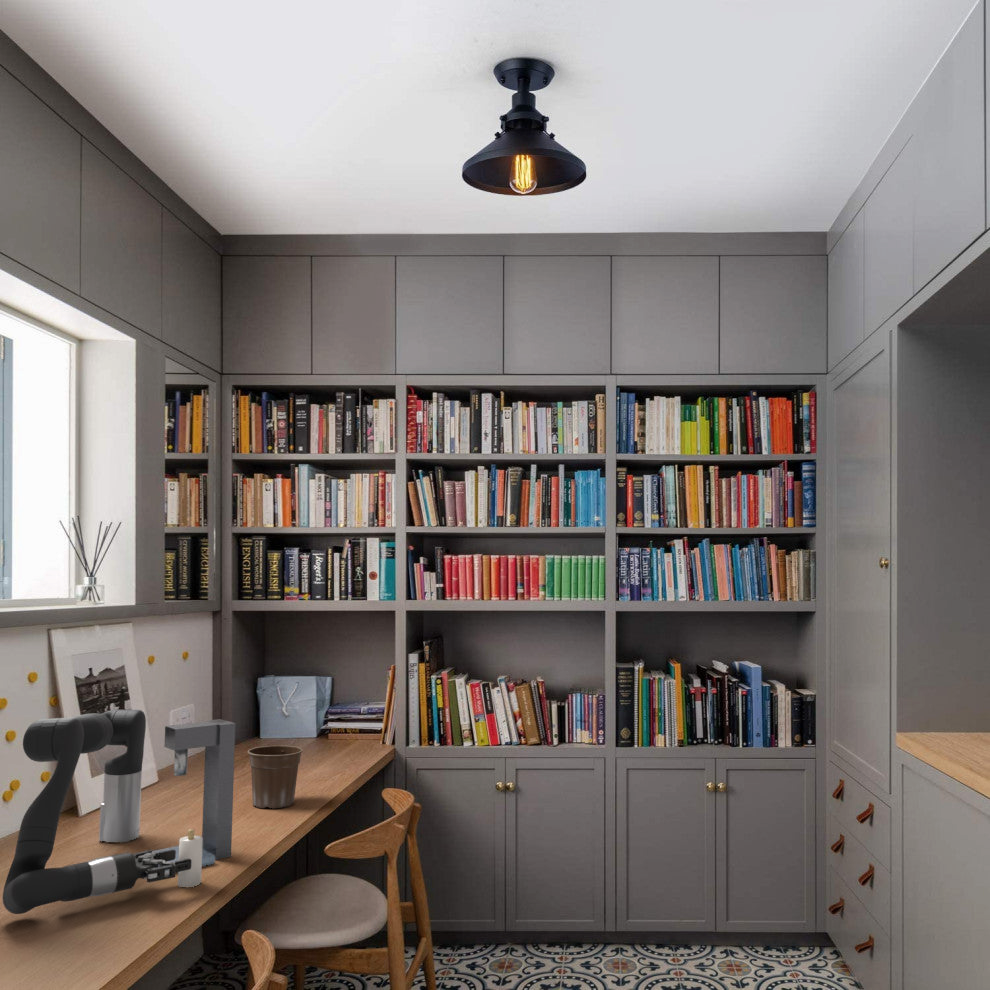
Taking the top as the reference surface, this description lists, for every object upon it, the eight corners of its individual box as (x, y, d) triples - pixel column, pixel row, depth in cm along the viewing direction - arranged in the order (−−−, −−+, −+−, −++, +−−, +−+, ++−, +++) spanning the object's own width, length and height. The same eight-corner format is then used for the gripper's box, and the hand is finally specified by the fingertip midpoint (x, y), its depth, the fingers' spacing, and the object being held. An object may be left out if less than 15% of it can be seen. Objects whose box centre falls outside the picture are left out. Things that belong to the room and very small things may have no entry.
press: (161, 875, 212) (167, 733, 214) (125, 852, 228) (130, 720, 231) (235, 859, 224) (240, 724, 227) (196, 838, 241) (200, 713, 243)
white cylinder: (175, 888, 204) (177, 833, 205) (180, 880, 209) (182, 826, 210) (198, 887, 204) (200, 832, 205) (202, 880, 209) (204, 826, 210)
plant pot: (279, 794, 288) (280, 742, 289) (312, 803, 278) (313, 749, 279) (235, 804, 275) (236, 750, 277) (268, 814, 265) (269, 757, 266)
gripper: (122, 864, 190) (196, 849, 201) (98, 848, 200) (170, 834, 211) (120, 902, 189) (195, 884, 200) (96, 883, 200) (169, 867, 211)
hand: (182, 858), depth 206 cm, fingers open, 8 cm apart
